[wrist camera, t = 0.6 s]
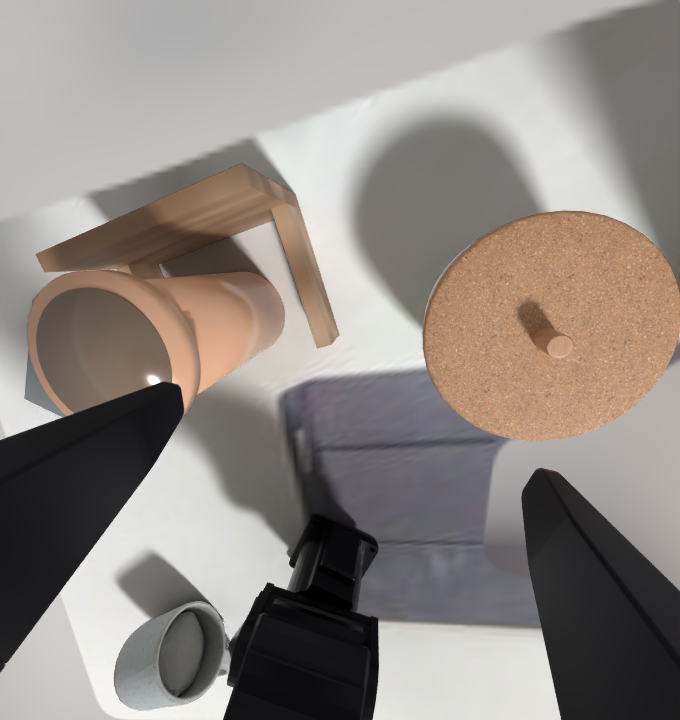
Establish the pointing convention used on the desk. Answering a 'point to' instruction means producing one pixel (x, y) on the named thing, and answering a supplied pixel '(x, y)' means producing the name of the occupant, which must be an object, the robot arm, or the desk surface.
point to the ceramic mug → (172, 658)
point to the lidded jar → (551, 325)
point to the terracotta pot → (147, 333)
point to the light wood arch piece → (203, 236)
